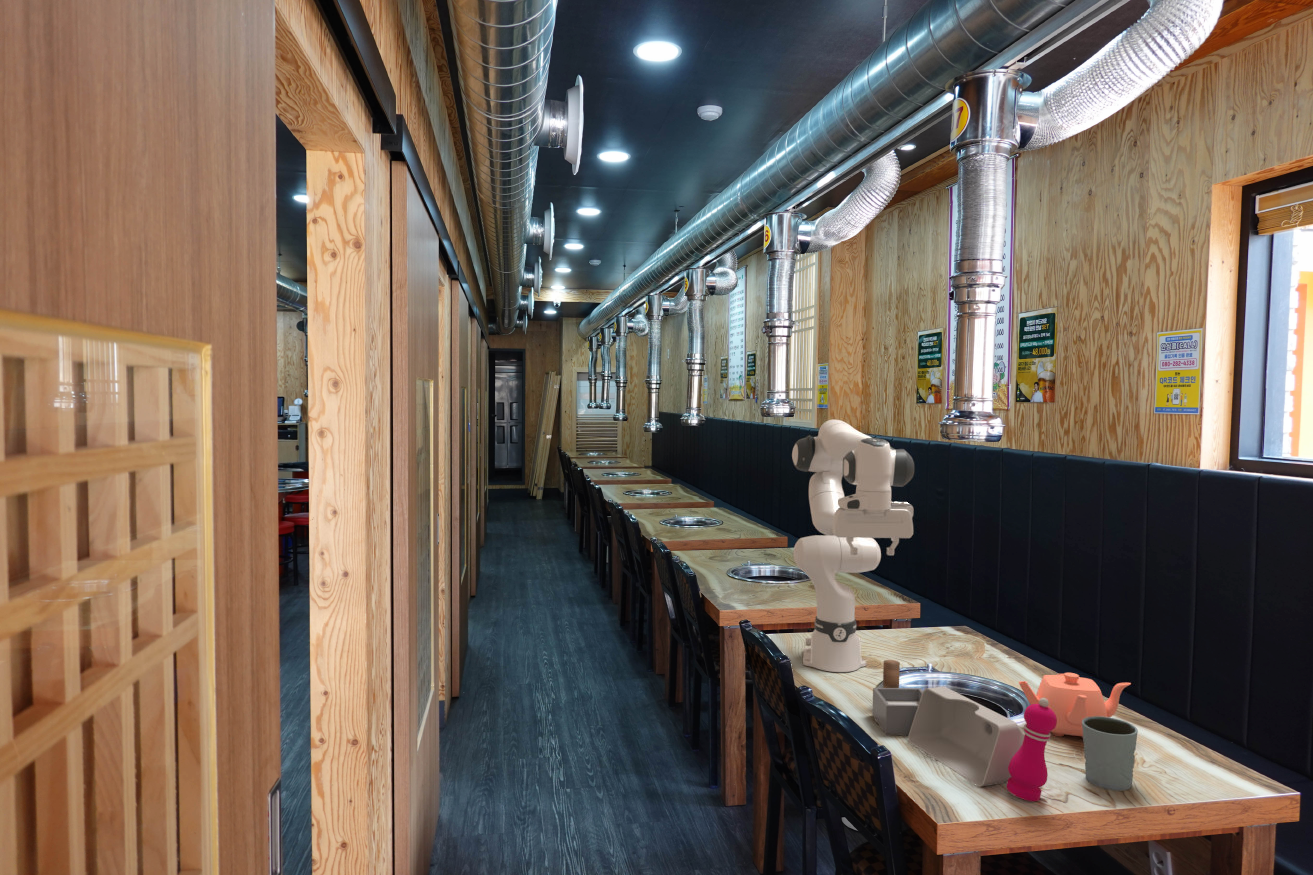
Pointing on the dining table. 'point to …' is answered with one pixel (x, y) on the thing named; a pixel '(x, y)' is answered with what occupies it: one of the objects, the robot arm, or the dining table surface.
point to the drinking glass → (1109, 752)
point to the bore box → (895, 708)
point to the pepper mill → (1032, 753)
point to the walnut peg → (891, 674)
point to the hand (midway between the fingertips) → (872, 554)
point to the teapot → (1073, 700)
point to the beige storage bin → (965, 736)
